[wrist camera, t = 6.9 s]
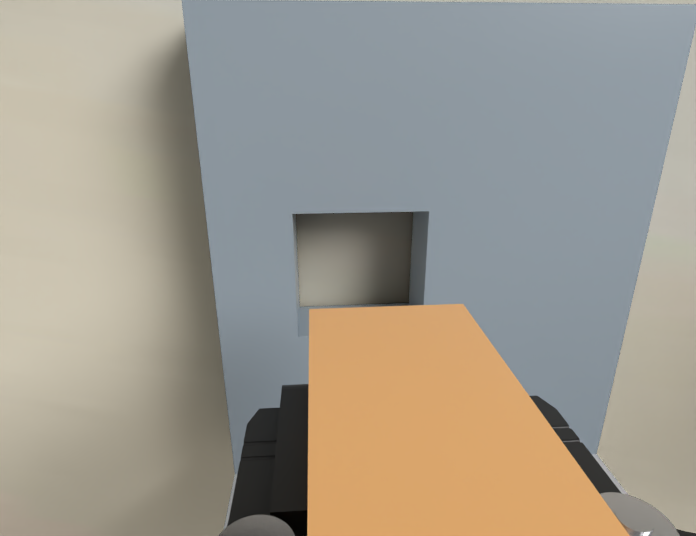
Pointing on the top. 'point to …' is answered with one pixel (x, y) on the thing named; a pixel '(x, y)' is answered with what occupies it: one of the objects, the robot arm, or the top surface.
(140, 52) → the top surface
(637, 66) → the grey slotted stand
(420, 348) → the block
